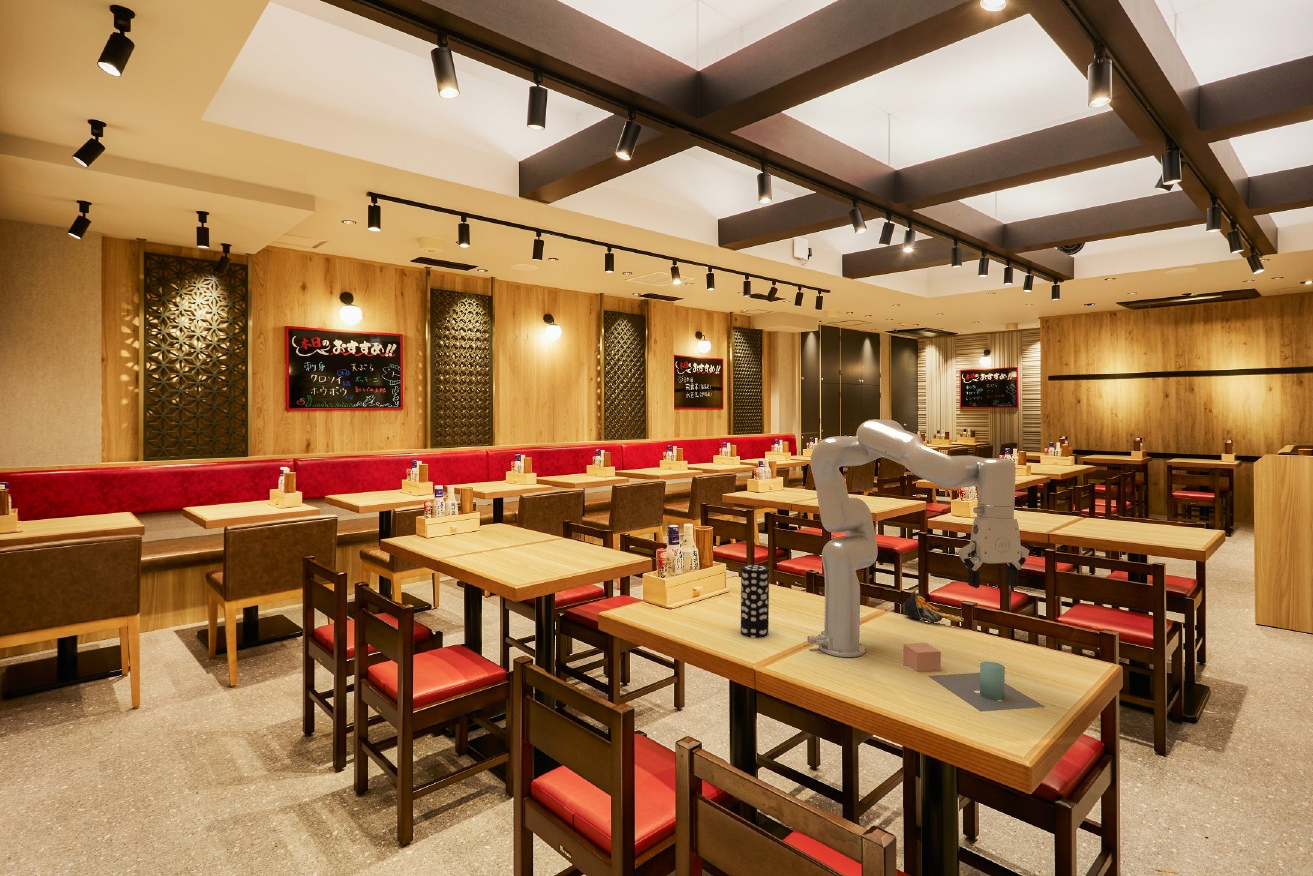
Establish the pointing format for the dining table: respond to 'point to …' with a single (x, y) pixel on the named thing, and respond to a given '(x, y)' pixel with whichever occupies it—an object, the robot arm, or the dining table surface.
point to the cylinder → (992, 680)
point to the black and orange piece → (925, 610)
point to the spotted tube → (754, 601)
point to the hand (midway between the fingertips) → (992, 586)
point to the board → (970, 692)
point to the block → (921, 657)
